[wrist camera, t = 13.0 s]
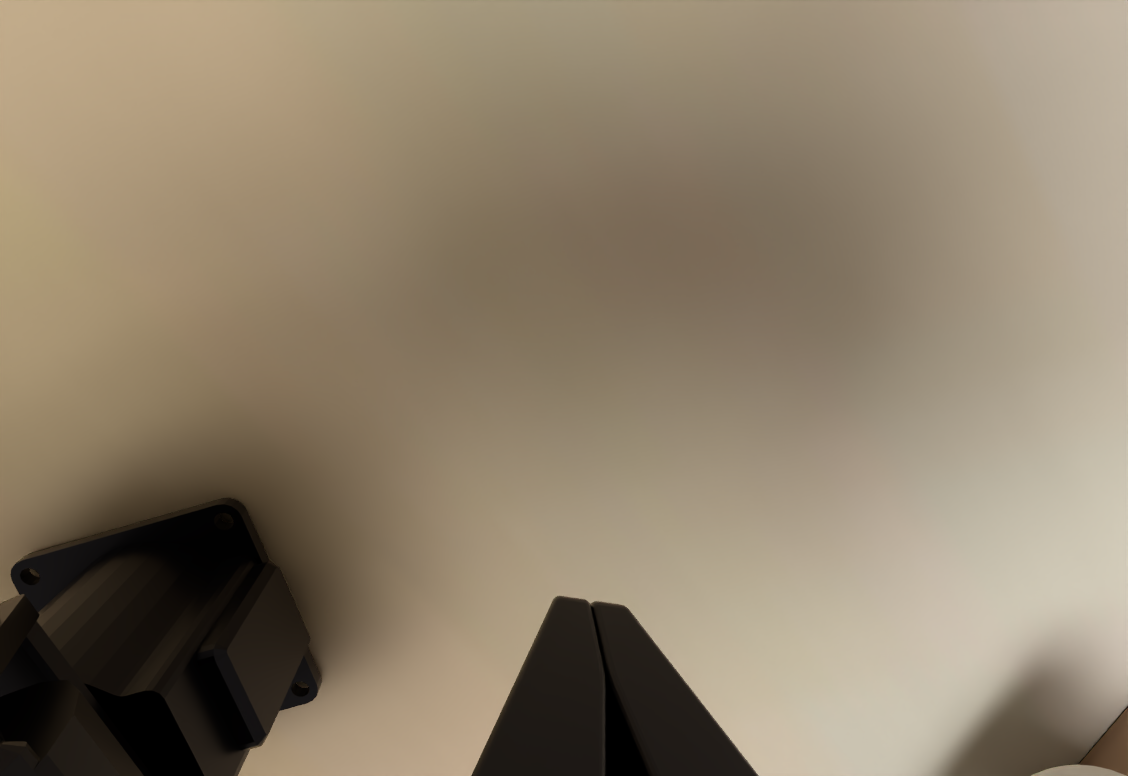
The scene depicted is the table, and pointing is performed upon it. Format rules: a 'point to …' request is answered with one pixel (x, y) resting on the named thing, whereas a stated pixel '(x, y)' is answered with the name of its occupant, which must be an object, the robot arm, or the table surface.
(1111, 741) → the panel
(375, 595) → the table surface
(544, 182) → the table surface
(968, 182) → the table surface
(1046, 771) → the grey plunger
